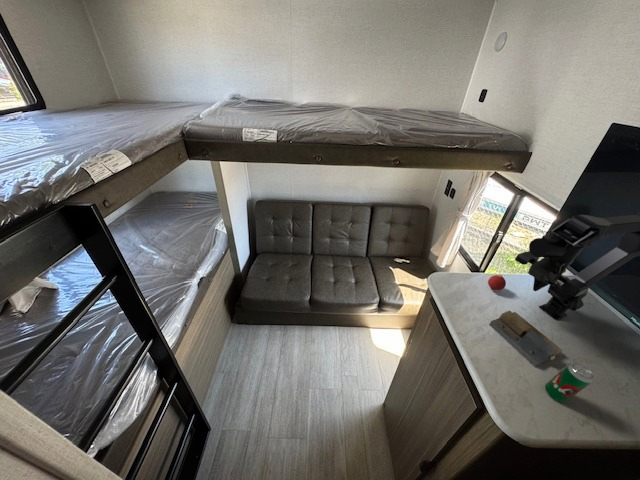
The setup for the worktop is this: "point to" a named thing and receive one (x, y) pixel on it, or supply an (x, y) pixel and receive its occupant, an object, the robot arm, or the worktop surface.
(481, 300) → the worktop surface
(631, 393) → the worktop surface
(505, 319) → the wooden block
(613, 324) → the worktop surface
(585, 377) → the soda can
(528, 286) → the worktop surface
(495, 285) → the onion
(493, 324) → the leaf fixed
